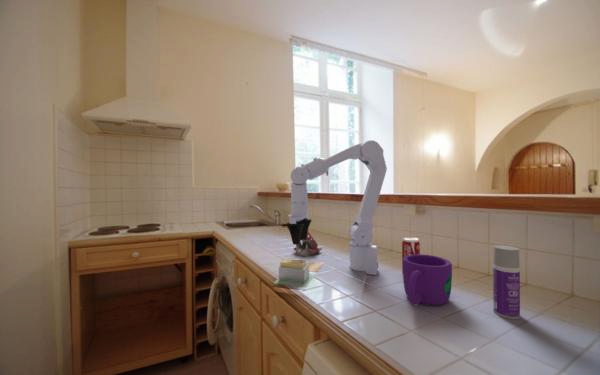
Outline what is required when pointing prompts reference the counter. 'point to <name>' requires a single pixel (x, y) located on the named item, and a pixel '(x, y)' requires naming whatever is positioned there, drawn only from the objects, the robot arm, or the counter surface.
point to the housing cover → (293, 263)
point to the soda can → (410, 247)
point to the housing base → (294, 274)
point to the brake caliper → (307, 246)
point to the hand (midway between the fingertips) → (299, 241)
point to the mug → (427, 279)
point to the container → (506, 282)
